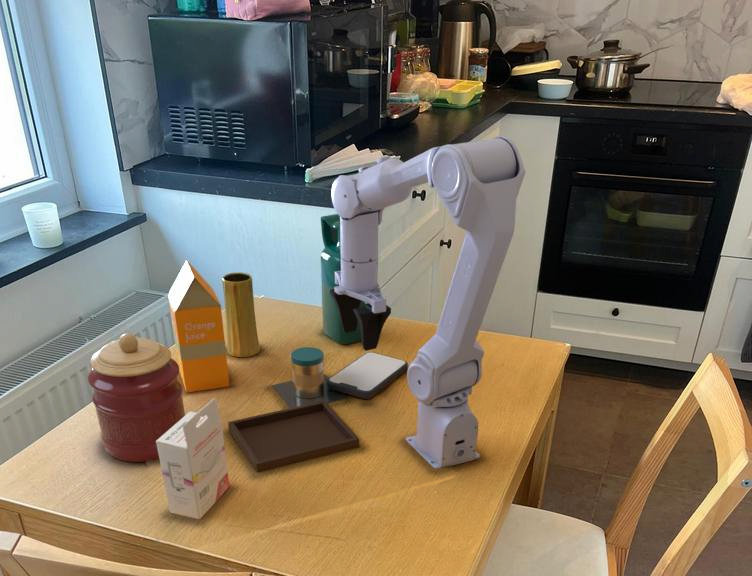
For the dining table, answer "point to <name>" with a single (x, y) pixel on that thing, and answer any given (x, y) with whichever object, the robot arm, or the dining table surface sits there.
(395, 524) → the dining table surface
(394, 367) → the phone case
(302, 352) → the teal lidded glass jar
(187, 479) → the ink cartridge box
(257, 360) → the dining table surface
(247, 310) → the vase
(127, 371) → the kitchen canister
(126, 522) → the dining table surface
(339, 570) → the dining table surface
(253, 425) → the tray
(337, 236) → the green glass bottle
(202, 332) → the orange juice
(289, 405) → the slate coaster
